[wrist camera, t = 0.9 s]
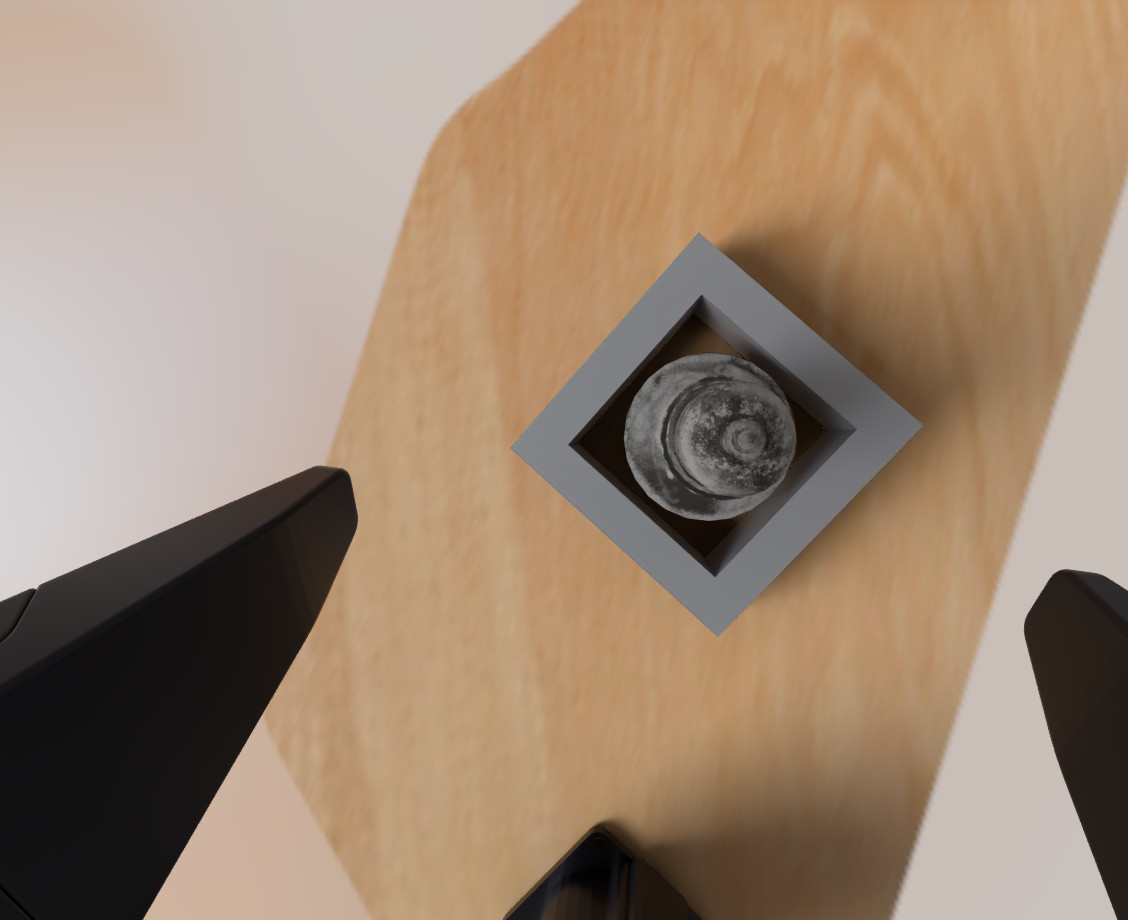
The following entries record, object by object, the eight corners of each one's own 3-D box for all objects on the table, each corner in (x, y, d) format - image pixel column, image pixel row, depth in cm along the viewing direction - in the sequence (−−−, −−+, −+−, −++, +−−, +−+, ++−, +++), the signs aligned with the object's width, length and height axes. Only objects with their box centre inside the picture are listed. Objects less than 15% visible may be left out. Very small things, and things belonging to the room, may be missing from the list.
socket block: (707, 609, 26) (717, 636, 22) (527, 446, 26) (510, 447, 23) (883, 426, 24) (923, 425, 21) (690, 260, 25) (698, 232, 22)
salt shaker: (752, 345, 25) (853, 266, 13) (791, 487, 25) (926, 537, 13) (609, 386, 26) (582, 347, 14) (647, 524, 26) (653, 602, 14)
